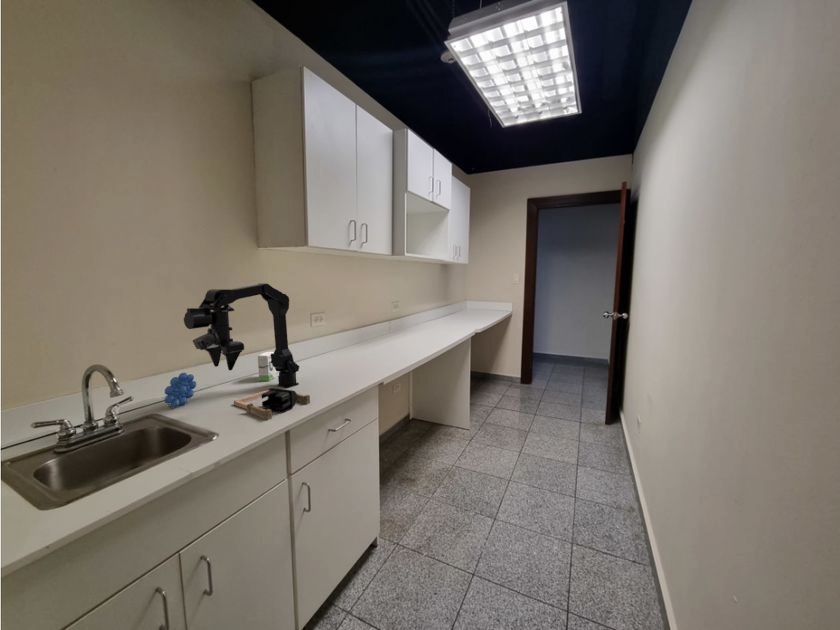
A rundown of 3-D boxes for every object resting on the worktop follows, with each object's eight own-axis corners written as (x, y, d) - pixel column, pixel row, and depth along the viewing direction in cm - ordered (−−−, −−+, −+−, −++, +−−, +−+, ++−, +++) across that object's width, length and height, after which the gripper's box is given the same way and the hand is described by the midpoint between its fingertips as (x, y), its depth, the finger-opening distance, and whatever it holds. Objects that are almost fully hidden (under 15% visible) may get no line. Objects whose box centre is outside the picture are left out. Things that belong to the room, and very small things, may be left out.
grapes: (189, 398, 133) (186, 368, 132) (201, 400, 131) (199, 370, 130) (157, 409, 122) (154, 377, 121) (171, 412, 120) (167, 378, 119)
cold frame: (290, 397, 134) (289, 390, 134) (310, 403, 128) (309, 395, 128) (247, 412, 119) (247, 404, 119) (268, 420, 114) (267, 411, 113)
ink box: (268, 381, 154) (267, 355, 153) (258, 381, 155) (257, 355, 154) (279, 375, 163) (277, 351, 161) (269, 375, 164) (268, 351, 162)
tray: (268, 393, 139) (267, 389, 138) (287, 399, 132) (287, 395, 132) (233, 404, 127) (233, 400, 127) (253, 411, 121) (253, 407, 120)
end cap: (298, 406, 126) (297, 388, 125) (284, 413, 119) (283, 394, 118) (275, 403, 129) (274, 385, 128) (261, 410, 122) (260, 391, 121)
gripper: (181, 326, 119) (185, 369, 121) (209, 330, 109) (213, 378, 111) (215, 322, 129) (218, 362, 131) (243, 325, 119) (246, 370, 121)
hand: (223, 368), depth 123 cm, fingers open, 9 cm apart
